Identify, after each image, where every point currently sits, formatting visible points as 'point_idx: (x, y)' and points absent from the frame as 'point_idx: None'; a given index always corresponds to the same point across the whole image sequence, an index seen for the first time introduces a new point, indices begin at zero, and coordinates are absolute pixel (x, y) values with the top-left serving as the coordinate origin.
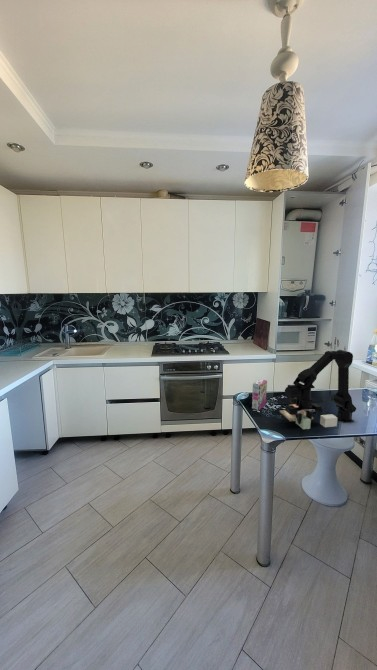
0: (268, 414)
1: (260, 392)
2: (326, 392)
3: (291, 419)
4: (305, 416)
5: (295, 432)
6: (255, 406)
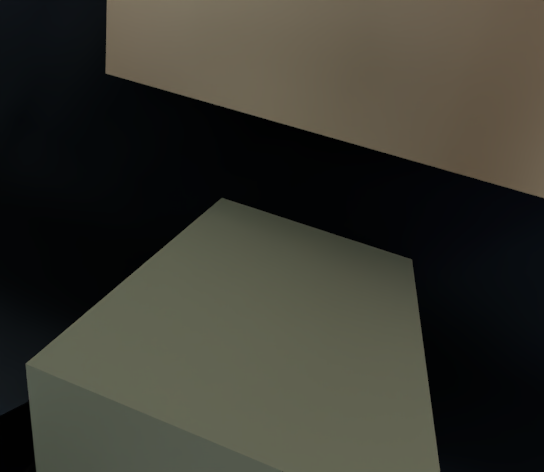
0: None
1: None
2: None
3: (143, 73)
4: None
5: (22, 396)
6: None
